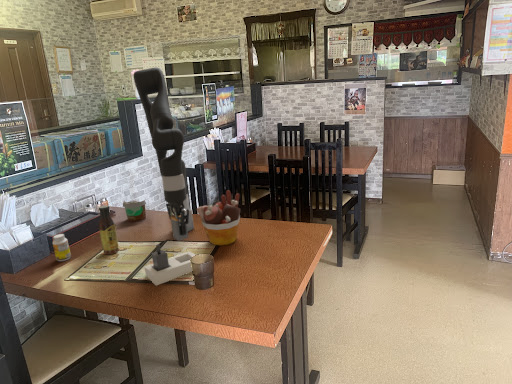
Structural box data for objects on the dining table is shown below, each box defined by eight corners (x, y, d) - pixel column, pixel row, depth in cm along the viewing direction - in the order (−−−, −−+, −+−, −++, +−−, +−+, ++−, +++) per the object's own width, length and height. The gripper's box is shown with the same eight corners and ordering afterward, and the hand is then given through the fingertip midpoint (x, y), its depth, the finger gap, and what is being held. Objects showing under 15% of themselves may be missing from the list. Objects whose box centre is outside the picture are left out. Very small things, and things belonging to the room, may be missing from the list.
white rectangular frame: (190, 260, 150) (186, 231, 147) (202, 268, 143) (198, 237, 140) (145, 276, 140) (140, 245, 137) (156, 285, 133) (150, 253, 130)
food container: (120, 222, 200) (117, 204, 197) (126, 218, 206) (123, 200, 203) (143, 222, 198) (140, 203, 195) (148, 218, 203) (145, 199, 201)
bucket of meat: (229, 252, 155) (224, 204, 150) (194, 247, 162) (189, 201, 157) (251, 233, 173) (247, 190, 167) (218, 230, 180) (214, 188, 174)
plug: (183, 234, 143) (180, 214, 141) (188, 237, 140) (185, 216, 138) (173, 237, 141) (170, 216, 139) (178, 240, 138) (175, 219, 136)
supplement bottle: (56, 258, 162) (51, 235, 159) (71, 254, 164) (66, 232, 162) (56, 263, 157) (50, 239, 154) (71, 259, 159) (66, 236, 157)
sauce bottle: (114, 255, 160) (105, 209, 155) (100, 255, 162) (91, 209, 156) (122, 248, 167) (114, 204, 161) (109, 248, 168) (100, 204, 163)
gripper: (193, 188, 132) (199, 235, 137) (175, 181, 143) (180, 225, 148) (173, 193, 128) (179, 241, 133) (155, 186, 139) (162, 231, 144)
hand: (180, 232), depth 140 cm, fingers closed on plug, 4 cm apart
